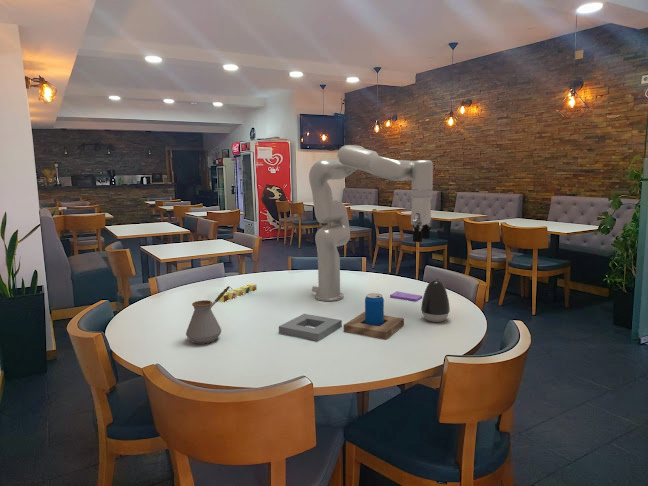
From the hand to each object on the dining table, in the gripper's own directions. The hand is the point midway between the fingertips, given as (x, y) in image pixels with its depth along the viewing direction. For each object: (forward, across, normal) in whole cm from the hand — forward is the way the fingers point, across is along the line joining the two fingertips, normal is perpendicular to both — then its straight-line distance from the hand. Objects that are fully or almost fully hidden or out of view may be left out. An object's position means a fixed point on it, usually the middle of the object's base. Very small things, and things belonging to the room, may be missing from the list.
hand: (421, 240), depth 169 cm
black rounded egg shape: (+29, +3, +6) cm, 30 cm away
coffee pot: (+29, +53, -57) cm, 83 cm away
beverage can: (+29, +22, -10) cm, 38 cm away
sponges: (+30, -20, -13) cm, 38 cm away
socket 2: (+29, +22, -10) cm, 38 cm away
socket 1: (+29, +33, -29) cm, 53 cm away
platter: (+29, +8, -81) cm, 86 cm away
